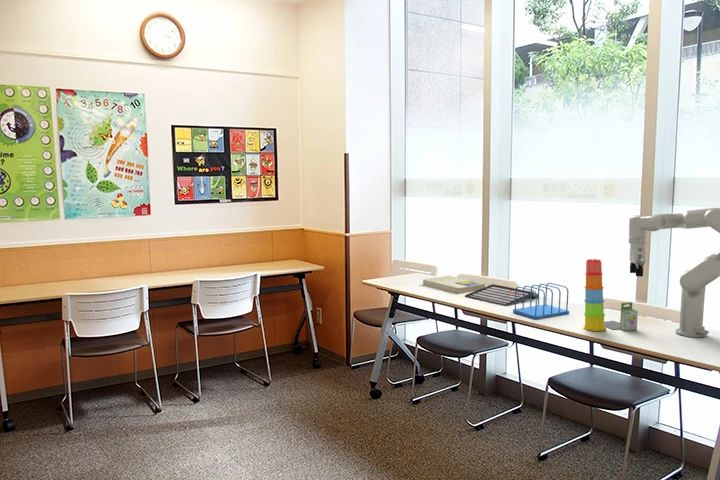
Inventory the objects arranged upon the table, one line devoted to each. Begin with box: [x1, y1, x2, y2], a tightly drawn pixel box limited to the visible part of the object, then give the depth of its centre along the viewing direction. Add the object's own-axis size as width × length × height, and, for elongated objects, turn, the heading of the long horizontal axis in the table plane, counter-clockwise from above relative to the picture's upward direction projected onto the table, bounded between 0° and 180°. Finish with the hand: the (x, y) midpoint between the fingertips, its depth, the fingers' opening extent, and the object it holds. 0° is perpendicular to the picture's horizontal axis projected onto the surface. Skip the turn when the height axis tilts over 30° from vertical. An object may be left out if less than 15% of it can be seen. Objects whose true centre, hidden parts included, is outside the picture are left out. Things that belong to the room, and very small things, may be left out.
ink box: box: [619, 301, 639, 332], centre depth 281 cm, size 7×4×13 cm, turn 105°
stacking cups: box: [582, 258, 607, 332], centre depth 282 cm, size 10×10×35 cm
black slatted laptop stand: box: [464, 283, 538, 307], centre depth 355 cm, size 32×7×31 cm
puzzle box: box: [422, 275, 486, 295], centre depth 388 cm, size 36×5×24 cm
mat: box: [604, 320, 621, 331], centre depth 290 cm, size 13×12×1 cm
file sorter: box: [512, 282, 570, 320], centre depth 315 cm, size 25×17×15 cm
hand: (636, 274), depth 286 cm, fingers open, 9 cm apart
